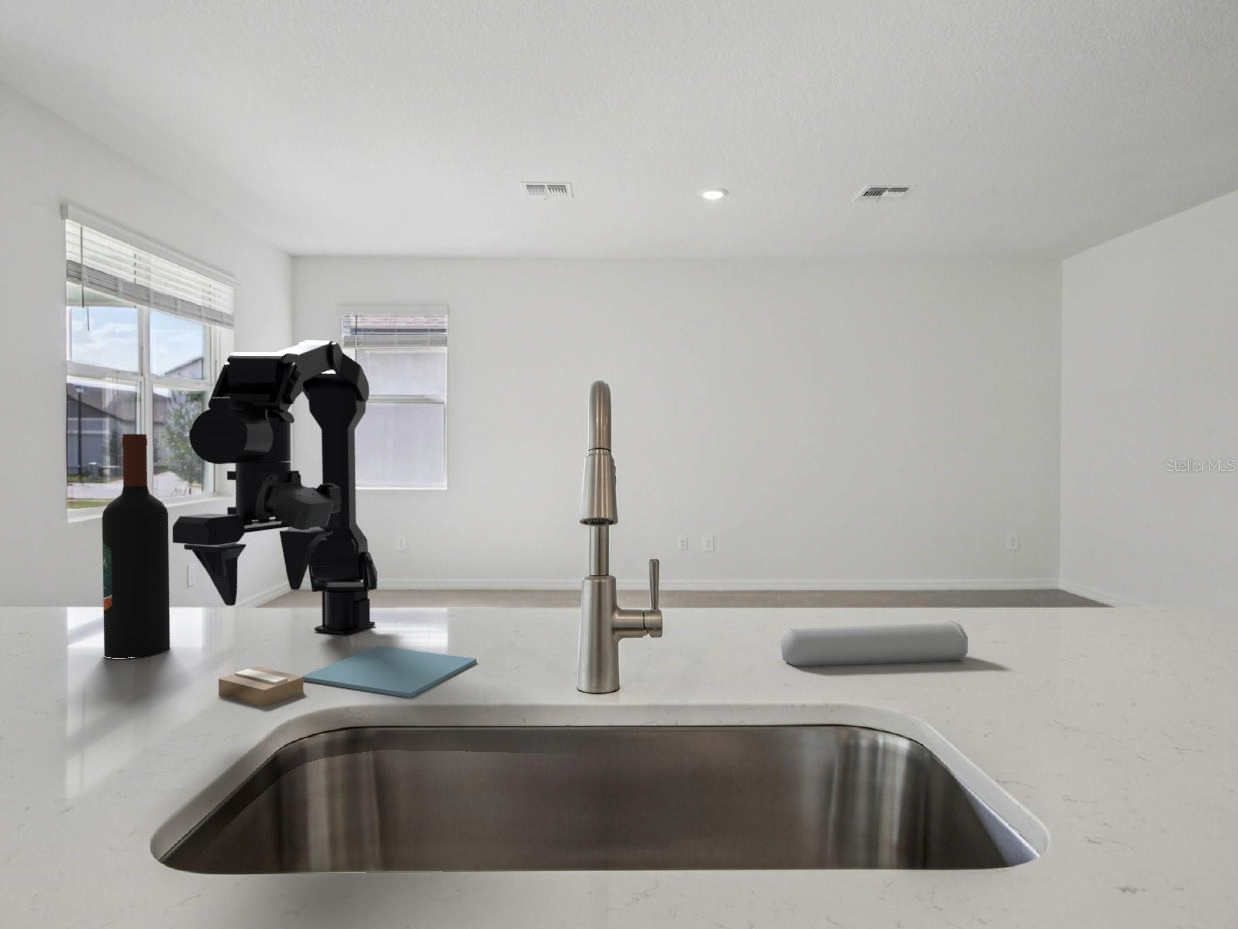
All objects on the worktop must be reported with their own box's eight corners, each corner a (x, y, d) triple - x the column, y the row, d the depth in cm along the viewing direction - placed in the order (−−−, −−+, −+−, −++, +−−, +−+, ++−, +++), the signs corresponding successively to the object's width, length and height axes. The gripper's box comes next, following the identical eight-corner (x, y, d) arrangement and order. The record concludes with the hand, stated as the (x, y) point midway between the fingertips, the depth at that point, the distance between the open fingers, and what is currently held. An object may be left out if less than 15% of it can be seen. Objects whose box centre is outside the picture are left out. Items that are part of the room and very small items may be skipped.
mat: (301, 680, 87) (301, 676, 87) (378, 649, 100) (378, 645, 100) (410, 698, 81) (410, 693, 81) (476, 662, 94) (476, 658, 94)
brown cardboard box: (218, 697, 82) (218, 676, 82) (258, 684, 86) (257, 664, 86) (264, 709, 78) (264, 687, 78) (303, 695, 83) (303, 674, 83)
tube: (790, 643, 91) (972, 635, 94) (777, 620, 96) (949, 614, 99) (785, 678, 93) (963, 669, 96) (772, 653, 98) (942, 646, 101)
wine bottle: (137, 661, 94) (133, 433, 93) (89, 657, 95) (85, 433, 94) (183, 645, 101) (180, 434, 100) (138, 642, 103) (135, 434, 102)
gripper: (249, 465, 70) (250, 622, 71) (375, 461, 88) (375, 587, 88) (167, 463, 74) (169, 612, 74) (303, 460, 92) (304, 580, 92)
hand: (264, 597), depth 82 cm, fingers open, 9 cm apart
